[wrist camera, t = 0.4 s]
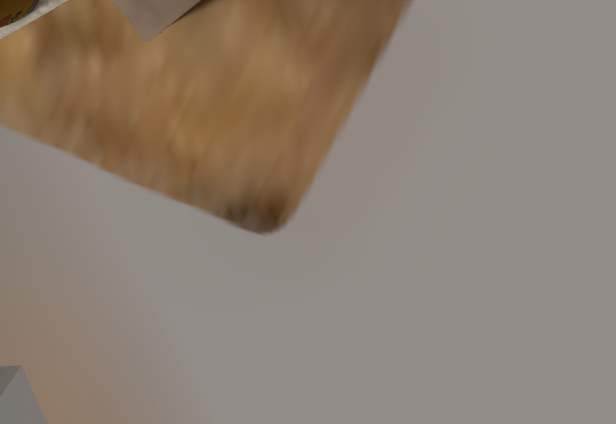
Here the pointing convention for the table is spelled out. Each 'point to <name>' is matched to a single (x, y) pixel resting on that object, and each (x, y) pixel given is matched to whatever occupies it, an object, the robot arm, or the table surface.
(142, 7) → the link
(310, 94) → the table surface
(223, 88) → the table surface
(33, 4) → the condiment
